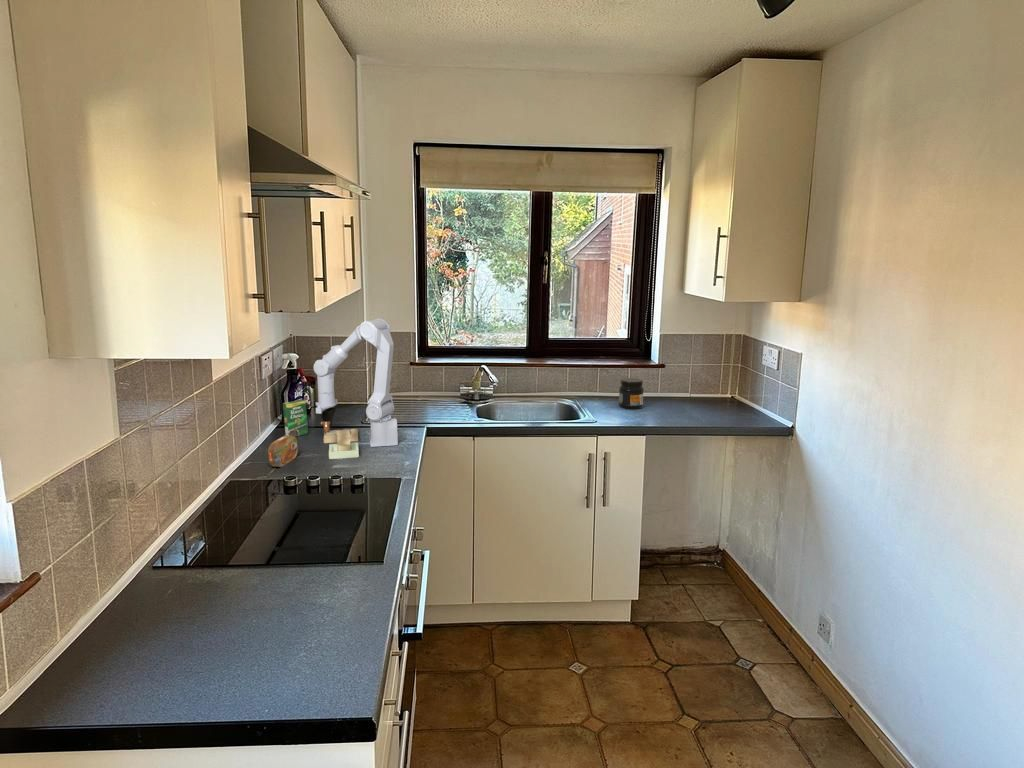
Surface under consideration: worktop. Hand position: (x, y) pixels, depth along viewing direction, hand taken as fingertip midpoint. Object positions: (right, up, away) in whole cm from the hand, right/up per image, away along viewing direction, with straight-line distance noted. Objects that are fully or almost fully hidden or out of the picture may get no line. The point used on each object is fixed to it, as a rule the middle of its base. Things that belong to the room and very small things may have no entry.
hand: (327, 427), depth 249 cm
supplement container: (+119, +6, +47) cm, 128 cm away
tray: (+10, -8, -18) cm, 22 cm away
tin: (-7, -10, -27) cm, 29 cm away
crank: (+3, -2, -1) cm, 4 cm away
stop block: (+10, -7, -18) cm, 22 cm away
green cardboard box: (-12, -3, +3) cm, 13 cm away
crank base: (+5, -4, 0) cm, 6 cm away
